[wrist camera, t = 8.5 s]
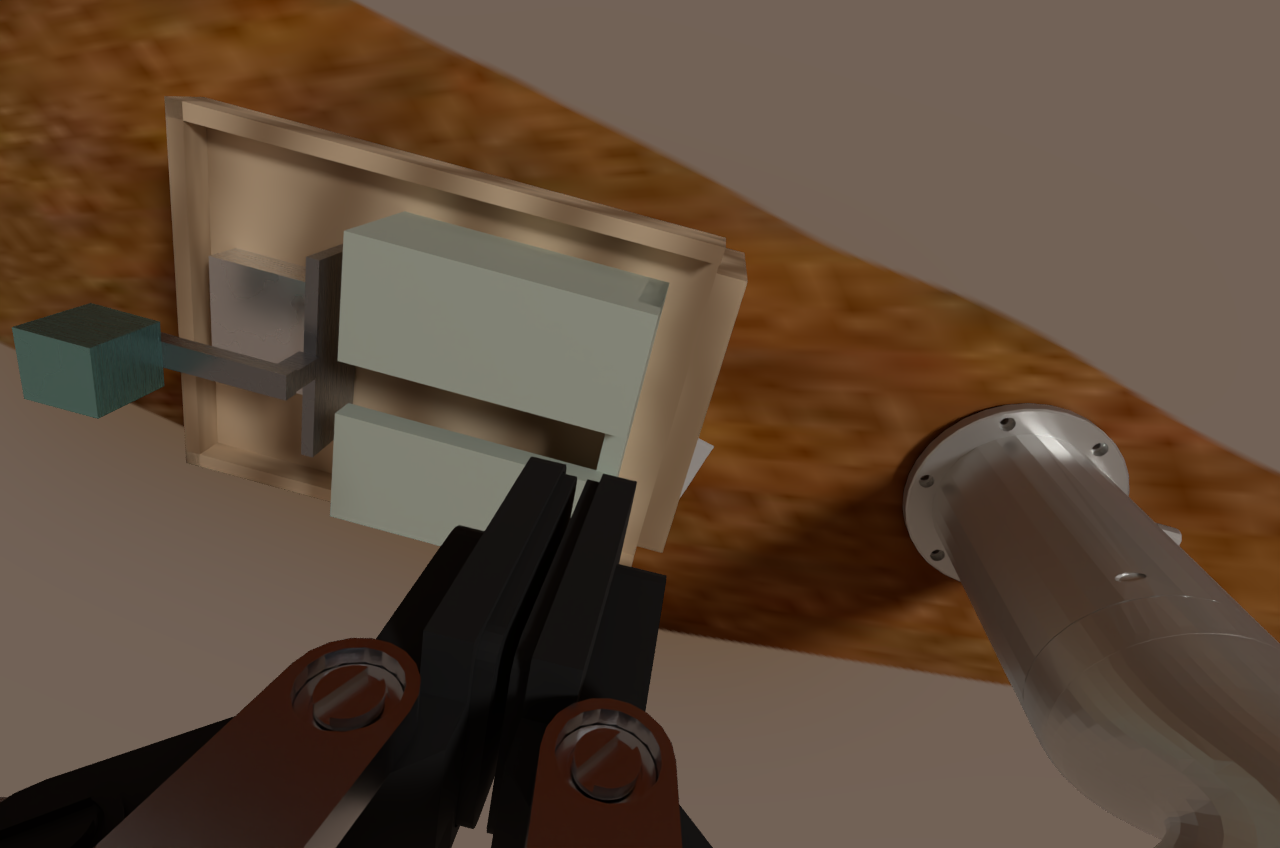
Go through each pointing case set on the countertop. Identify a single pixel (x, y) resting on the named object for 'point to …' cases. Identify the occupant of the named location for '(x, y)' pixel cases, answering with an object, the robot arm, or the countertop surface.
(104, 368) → the bar
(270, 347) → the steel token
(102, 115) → the countertop surface
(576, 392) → the pale green panels
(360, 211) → the shallow beige tray
